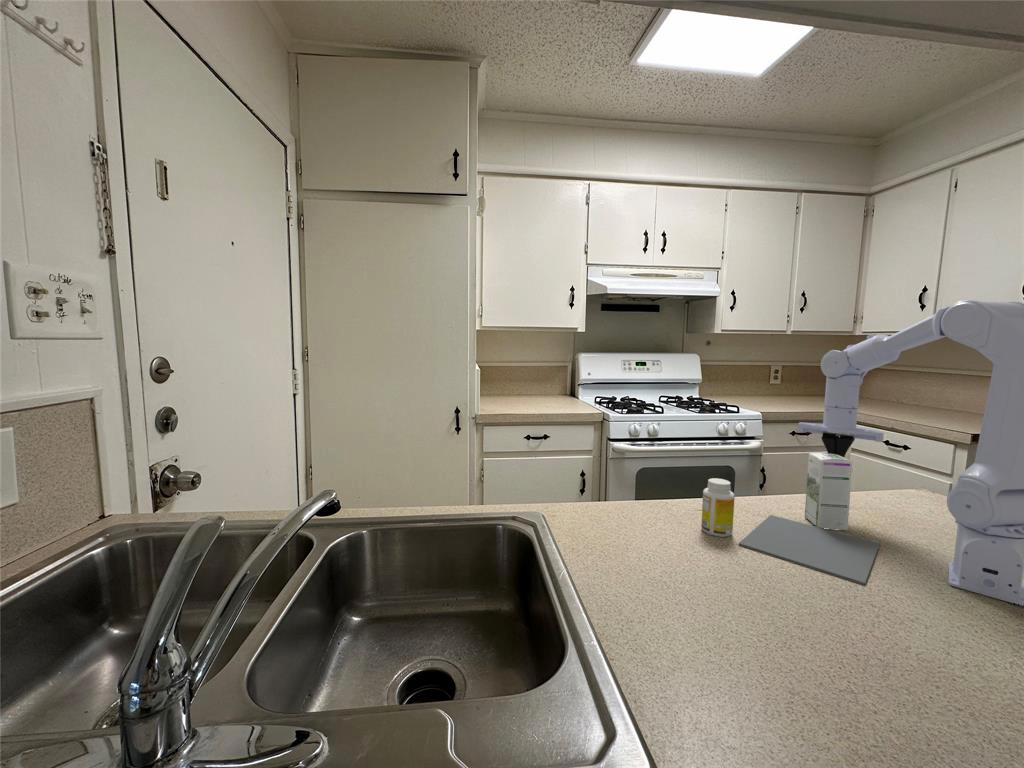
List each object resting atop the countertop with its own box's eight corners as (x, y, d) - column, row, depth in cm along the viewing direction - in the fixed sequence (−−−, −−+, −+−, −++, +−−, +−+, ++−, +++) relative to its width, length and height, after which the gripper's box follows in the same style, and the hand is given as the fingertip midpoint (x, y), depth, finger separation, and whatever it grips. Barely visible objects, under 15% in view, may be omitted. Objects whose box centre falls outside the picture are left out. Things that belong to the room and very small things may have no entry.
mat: (864, 585, 65) (865, 582, 65) (738, 545, 78) (738, 543, 78) (879, 545, 79) (879, 543, 79) (770, 516, 92) (770, 514, 92)
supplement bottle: (737, 533, 83) (740, 482, 83) (724, 540, 80) (727, 487, 79) (709, 523, 88) (712, 475, 87) (695, 530, 84) (698, 480, 83)
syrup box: (848, 531, 85) (855, 460, 84) (815, 528, 86) (821, 458, 85) (833, 520, 91) (839, 453, 90) (802, 517, 92) (807, 451, 91)
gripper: (887, 409, 89) (881, 472, 90) (805, 402, 100) (800, 459, 101) (883, 412, 84) (877, 479, 85) (797, 404, 95) (793, 464, 96)
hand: (835, 468), depth 93 cm, fingers closed
